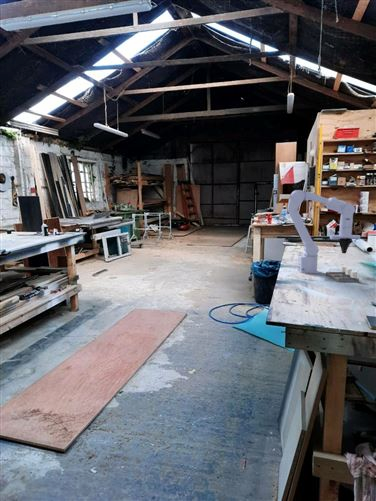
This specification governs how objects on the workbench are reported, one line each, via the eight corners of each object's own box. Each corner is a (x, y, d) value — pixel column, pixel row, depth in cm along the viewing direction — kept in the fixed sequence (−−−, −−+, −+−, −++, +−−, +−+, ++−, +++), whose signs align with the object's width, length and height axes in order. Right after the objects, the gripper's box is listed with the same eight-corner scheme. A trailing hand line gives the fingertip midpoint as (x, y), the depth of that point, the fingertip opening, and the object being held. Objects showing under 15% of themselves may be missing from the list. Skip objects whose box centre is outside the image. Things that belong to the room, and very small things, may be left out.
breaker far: (342, 272, 162) (342, 266, 161) (340, 271, 164) (340, 265, 164) (346, 272, 162) (346, 266, 161) (344, 271, 164) (344, 265, 164)
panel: (337, 281, 151) (337, 278, 151) (325, 274, 165) (326, 271, 165) (359, 281, 151) (359, 278, 151) (345, 274, 165) (345, 271, 164)
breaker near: (352, 277, 151) (353, 272, 151) (350, 276, 153) (350, 271, 153) (356, 277, 151) (357, 272, 151) (354, 276, 153) (355, 271, 153)
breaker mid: (347, 275, 156) (347, 269, 156) (345, 273, 159) (345, 268, 158) (351, 275, 156) (351, 269, 156) (349, 273, 159) (349, 268, 158)
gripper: (334, 227, 161) (332, 254, 163) (364, 227, 160) (361, 254, 163) (329, 226, 168) (327, 252, 170) (357, 226, 167) (355, 251, 170)
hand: (343, 253), depth 167 cm, fingers closed
